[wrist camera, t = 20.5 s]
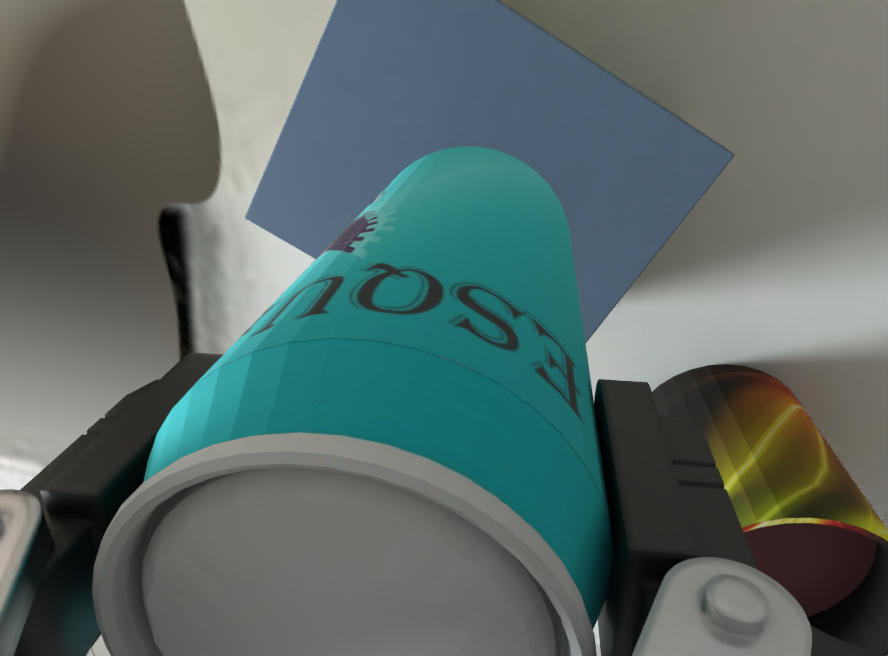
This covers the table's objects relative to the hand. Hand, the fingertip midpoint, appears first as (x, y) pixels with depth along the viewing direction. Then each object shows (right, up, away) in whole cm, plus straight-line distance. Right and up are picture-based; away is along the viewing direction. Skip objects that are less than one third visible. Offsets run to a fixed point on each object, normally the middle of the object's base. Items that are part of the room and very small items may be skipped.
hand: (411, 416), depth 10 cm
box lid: (+2, +7, +14) cm, 16 cm away
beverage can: (+2, +5, +10) cm, 11 cm away
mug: (+18, -6, +27) cm, 33 cm away
